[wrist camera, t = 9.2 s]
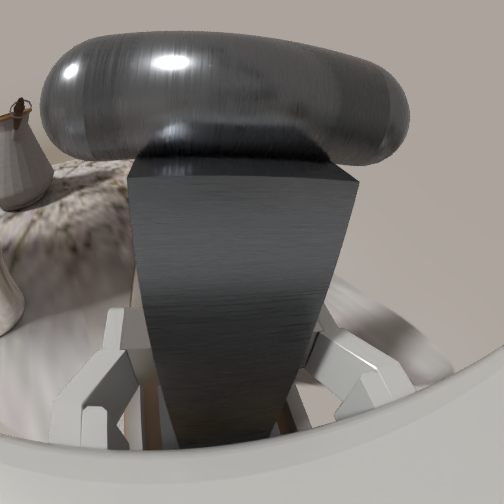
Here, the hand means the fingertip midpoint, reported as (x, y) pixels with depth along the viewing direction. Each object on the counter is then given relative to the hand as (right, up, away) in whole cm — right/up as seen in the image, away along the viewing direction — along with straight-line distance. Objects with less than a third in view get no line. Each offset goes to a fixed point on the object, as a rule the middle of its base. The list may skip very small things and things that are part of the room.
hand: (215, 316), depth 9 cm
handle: (-1, -4, +6) cm, 7 cm away
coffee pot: (-28, +7, +22) cm, 37 cm away
